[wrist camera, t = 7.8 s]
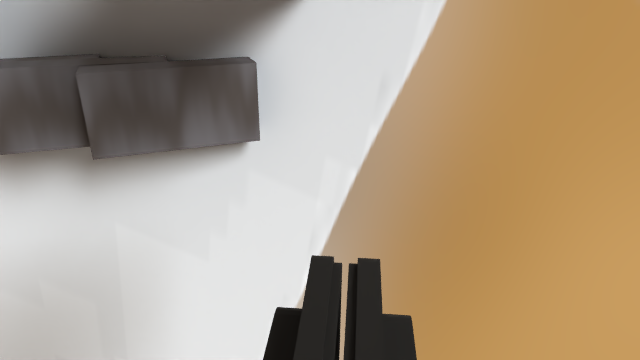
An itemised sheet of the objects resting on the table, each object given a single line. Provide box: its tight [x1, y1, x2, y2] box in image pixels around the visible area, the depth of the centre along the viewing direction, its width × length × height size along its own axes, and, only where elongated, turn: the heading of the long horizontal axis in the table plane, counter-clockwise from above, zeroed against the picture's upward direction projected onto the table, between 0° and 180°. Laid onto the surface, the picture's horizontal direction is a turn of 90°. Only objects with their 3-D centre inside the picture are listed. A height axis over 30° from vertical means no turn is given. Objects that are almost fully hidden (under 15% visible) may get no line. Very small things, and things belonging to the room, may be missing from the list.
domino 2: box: [76, 57, 260, 159], centre depth 29 cm, size 5×2×10 cm
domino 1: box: [0, 56, 167, 155], centre depth 30 cm, size 5×2×10 cm
